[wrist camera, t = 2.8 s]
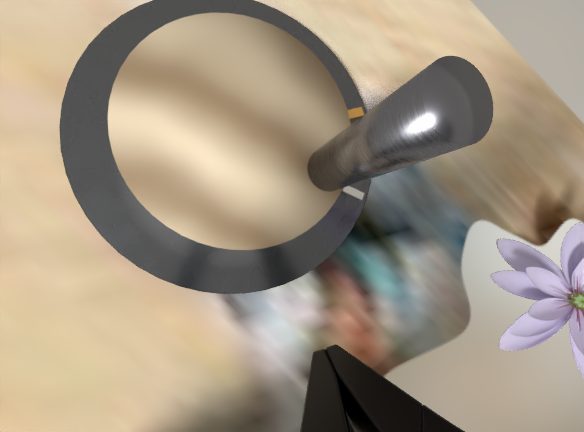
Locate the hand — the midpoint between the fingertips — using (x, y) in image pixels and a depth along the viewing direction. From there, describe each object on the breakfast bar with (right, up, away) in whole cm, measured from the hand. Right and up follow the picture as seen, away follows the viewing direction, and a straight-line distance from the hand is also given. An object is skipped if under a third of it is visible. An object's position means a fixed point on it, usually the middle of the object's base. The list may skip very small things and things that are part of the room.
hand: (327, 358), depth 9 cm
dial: (-4, +10, +10) cm, 15 cm away
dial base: (-5, +10, +11) cm, 15 cm away
